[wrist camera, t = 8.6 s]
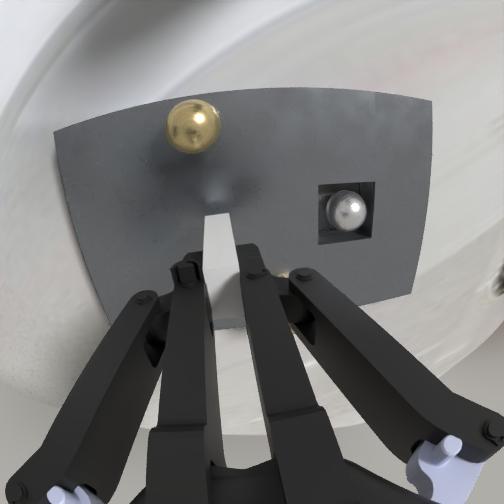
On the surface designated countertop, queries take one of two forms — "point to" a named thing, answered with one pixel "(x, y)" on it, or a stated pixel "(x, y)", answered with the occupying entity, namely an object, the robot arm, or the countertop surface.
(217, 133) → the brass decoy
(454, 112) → the countertop surface
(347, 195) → the steel ball
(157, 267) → the plate
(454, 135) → the countertop surface
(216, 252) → the robot arm
